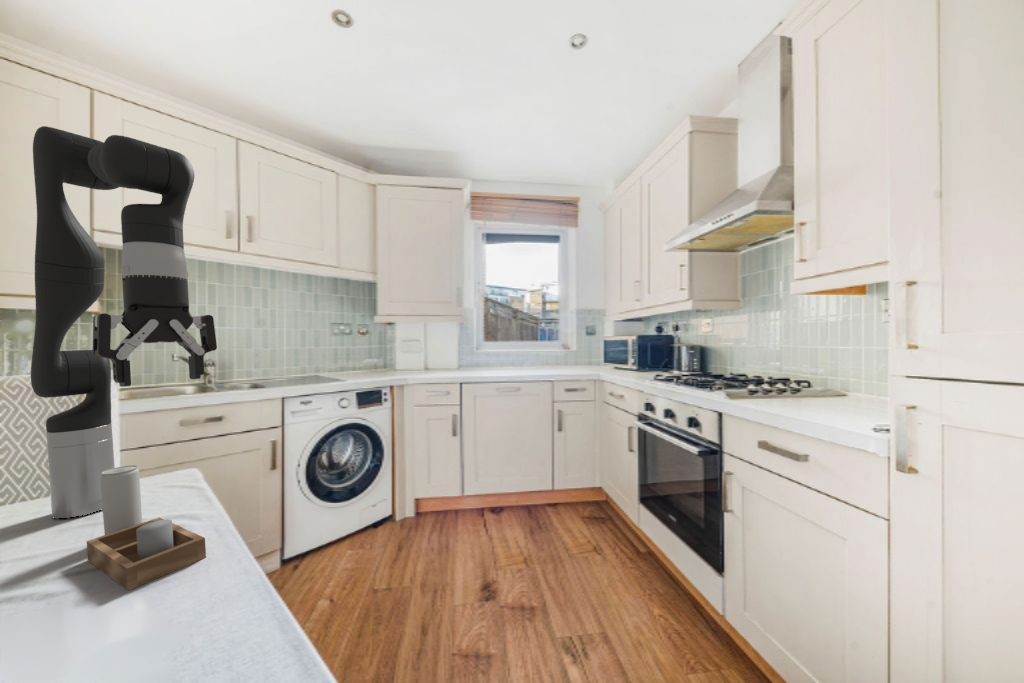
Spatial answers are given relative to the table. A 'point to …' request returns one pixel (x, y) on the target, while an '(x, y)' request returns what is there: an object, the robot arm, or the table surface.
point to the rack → (122, 564)
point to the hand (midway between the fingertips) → (162, 382)
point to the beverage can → (121, 498)
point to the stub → (154, 538)
